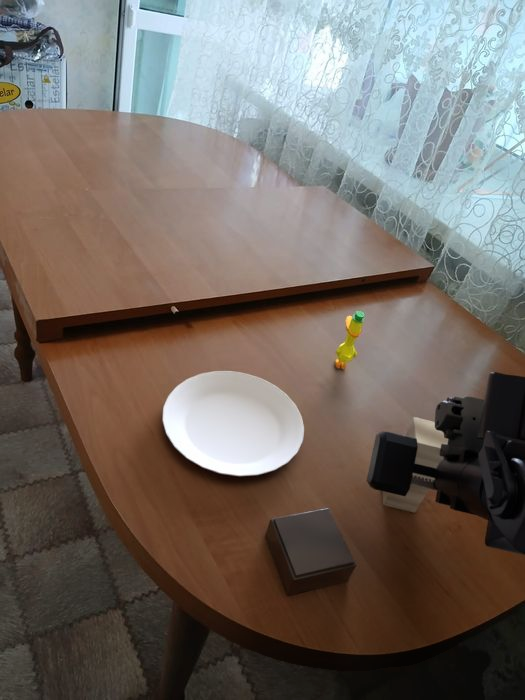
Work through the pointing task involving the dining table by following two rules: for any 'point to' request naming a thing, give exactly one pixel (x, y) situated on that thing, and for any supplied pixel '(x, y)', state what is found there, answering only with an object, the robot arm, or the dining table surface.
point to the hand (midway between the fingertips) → (431, 470)
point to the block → (426, 456)
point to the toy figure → (350, 339)
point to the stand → (309, 551)
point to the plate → (233, 423)
